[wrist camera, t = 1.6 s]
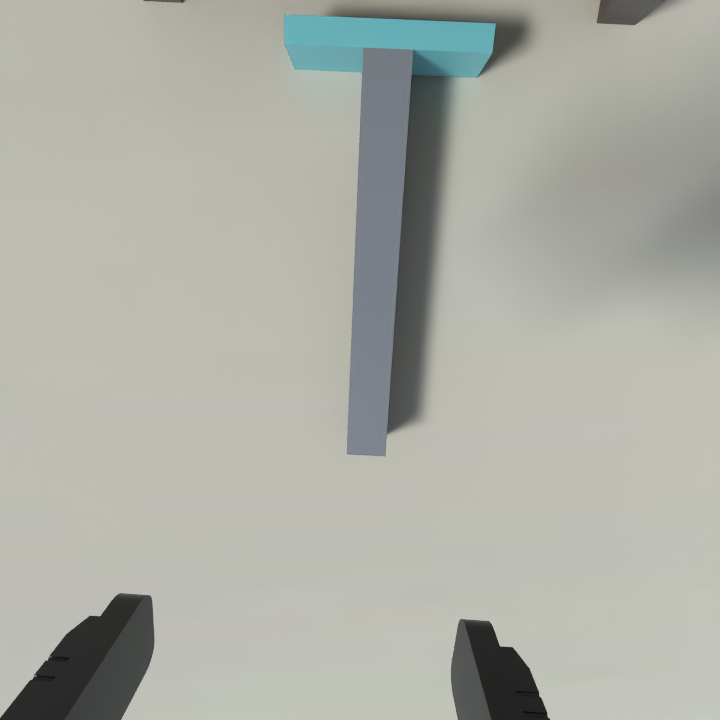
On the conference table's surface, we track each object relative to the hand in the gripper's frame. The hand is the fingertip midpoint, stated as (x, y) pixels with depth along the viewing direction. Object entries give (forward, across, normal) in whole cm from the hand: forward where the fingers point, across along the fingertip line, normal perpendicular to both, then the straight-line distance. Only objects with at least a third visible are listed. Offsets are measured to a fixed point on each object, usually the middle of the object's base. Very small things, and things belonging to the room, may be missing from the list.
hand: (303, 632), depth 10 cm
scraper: (+17, -2, -9) cm, 19 cm away
